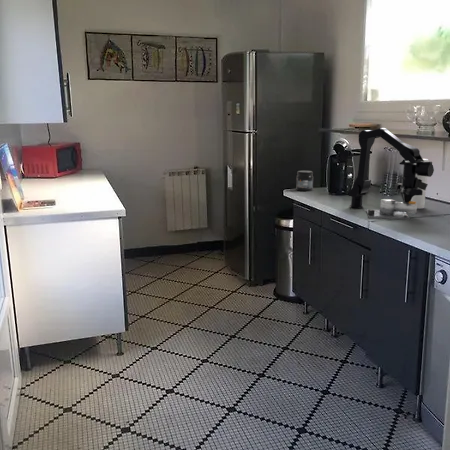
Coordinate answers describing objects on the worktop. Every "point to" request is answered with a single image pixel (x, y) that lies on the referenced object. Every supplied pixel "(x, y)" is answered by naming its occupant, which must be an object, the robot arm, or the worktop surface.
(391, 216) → the flange
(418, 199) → the cylindrical container
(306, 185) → the supplement container
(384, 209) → the collar
